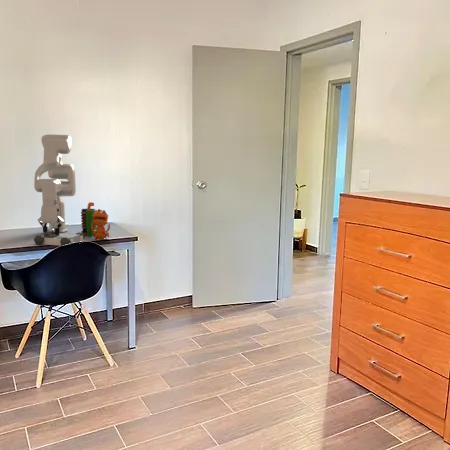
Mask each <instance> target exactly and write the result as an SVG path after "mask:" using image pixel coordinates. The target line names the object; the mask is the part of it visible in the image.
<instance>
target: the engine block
mask: <svg viewBox="0 0 450 450" xmlns="http://www.w3.org/2000/svg"><path fill="white" fill-rule="evenodd" d="M43 236H44V238H54V237H57V236H59V235H55V231H54V229H49V228H48V231H47V232H44V234H43Z"/></svg>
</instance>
